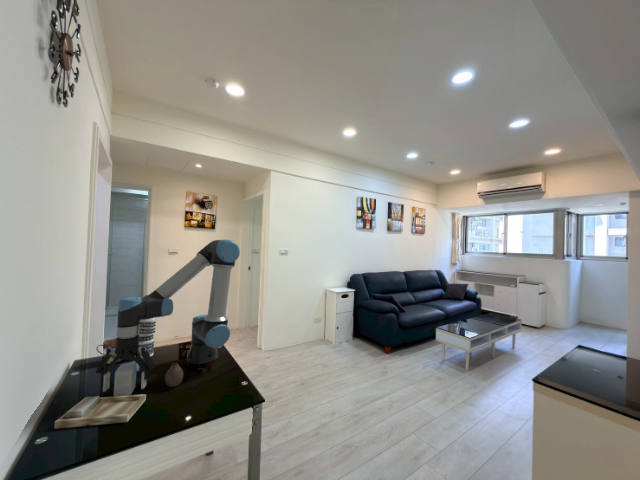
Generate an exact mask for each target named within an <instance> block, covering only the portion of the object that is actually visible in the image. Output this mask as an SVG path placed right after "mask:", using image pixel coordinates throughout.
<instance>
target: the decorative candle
mask: <svg viewBox="0 0 640 480" xmlns="http://www.w3.org/2000/svg"><path fill="white" fill-rule="evenodd" d="M155 319H156V318H148V319H141V320H140V330H139V334H138V335H139V345H138V346H139V348H140V347H144V346H147V351H148V353H149V355H150V357H151V358H152V356H153V355H154V352H155V351H154V350H155V347H154V346H155V344H154V343H155V340H154V334H155V333H156V328H155V327H156V323H157V321H155ZM138 354H139V355H140V357H141V358H143V356H142V353H140V351H138ZM135 357H136V356H135ZM143 359H144V358H143Z"/></svg>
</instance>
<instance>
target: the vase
mask: <svg viewBox="0 0 640 480" xmlns="http://www.w3.org/2000/svg"><path fill="white" fill-rule="evenodd" d="M183 379H184V371H183V368H182V367H181V366H180V365H179V364H178V363H177V362H176V363H172V364H171V366H170V367H169V368H168V370H167V371H166V373H165V376H164V382H165V384H166V386H168V388H174V387H178V386H180V384H181V383H182V382H183Z"/></svg>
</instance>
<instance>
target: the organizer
mask: <svg viewBox="0 0 640 480" xmlns="http://www.w3.org/2000/svg"><path fill="white" fill-rule="evenodd" d="M146 399H147V394H143V393H141V394H131V395H128V396H115V397H114V396H104V397H100V395H95V396H85V397H84V398H83V399H82V400H80V401H79V402H78V403H76V404H75V405H74V406H73V407H71V408H70V409H69V410H68V411H66V412H65V413H64V414H63V415H61V416H60V417H59V418H57V420H55V421H54V429H64V428H65V429H66V428H76V427H77V428H78V427H87V425H89V426H98V425H99V426H100V425H108V424H109V425H111V424H120V423H121V424H122V423H128V422H129V420H131V418H132V417H133V416H134V415H135V414H136V412H137V411H138V410H139V409H140V407H141V406H142V405H143V404H144V403H145V402H146Z"/></svg>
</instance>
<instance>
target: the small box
mask: <svg viewBox="0 0 640 480" xmlns="http://www.w3.org/2000/svg"><path fill="white" fill-rule="evenodd" d="M137 366H138V364H137V363H136V362H135V361H134V362H129V363H127V362H126V363H121V364H120V365H119V366H118V368H117V369H116V370H115V372H114V380H113V381H114V383H113V384H114V385H113V397H115V396H128V395H133V392H134V390H135V388H136V381H137Z"/></svg>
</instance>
